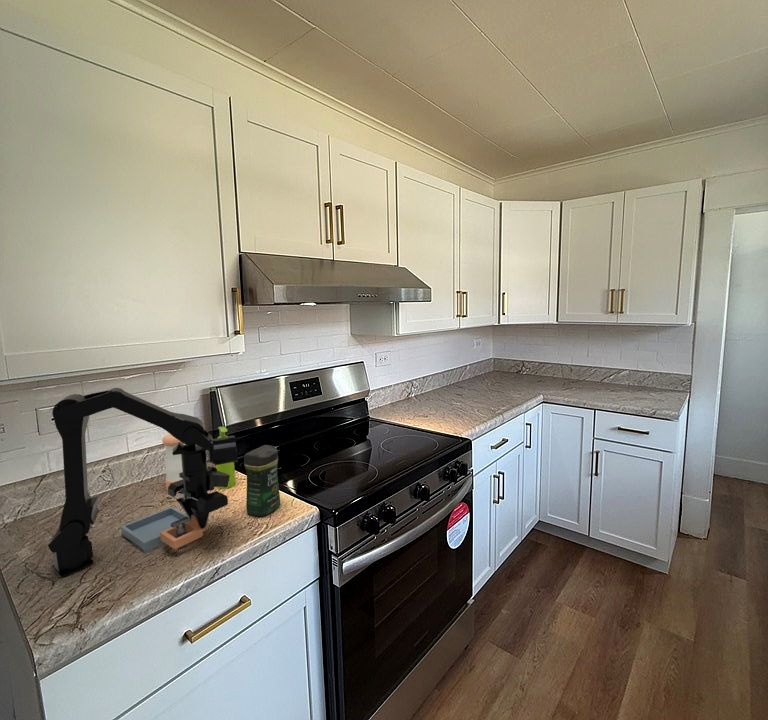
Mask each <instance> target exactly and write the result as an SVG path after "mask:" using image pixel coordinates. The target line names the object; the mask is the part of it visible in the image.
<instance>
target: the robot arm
mask: <svg viewBox="0 0 768 720" xmlns="http://www.w3.org/2000/svg"><path fill="white" fill-rule="evenodd" d="M109 409H116V410H119V411H121V412H124V413H126V414H129V415H130V416H132V417H135V418H137V419H140V420H143V421H145V422H147V423H149V424H152V425H154V426H156V427H159V428H161V429H163V430H164V431H166V432H167V433H168V434H171V435H172V436H173V437H175V438H176V439H178V440H179V441H181V442H182V443H184V445H183V444H181V443H180V442H179V443H178V444H177V446H176V447H175V448H174V449H173V452H172V454H173V455H178V454H181V459H182V471H183V472H182V473H179V476H180V478H183V479H182V480H179V481H177V482H174V483H171V484H170V485H169V487H168V491H167V495H168V496H170V497H172V498H175V497H176V496H177V494H178V495H179V497H178V498H177V499H176V502H177V503H178V504H179V505H180V507H181V508H182V509H183V511H184V512H185V514H187V515H188V517H189V518H190V520H191V515H193V514H194V516H195V518H196V520H197V522H198V524H199V526H200V528H202V529H203V528H205V527H206V523H207V524H208V519H209V516H210V513H212V512H214V511H216V510H217V511H218V510H220V509H221V508H222V509H223V508H224V507H226V506H228V505H229V499H228V498H229V497H228V496H227V495H226V494H224V493H221V492H219V491H217V490H216V491H214V490H215V488H217V487H227V486H228V482H229V478H230V475H229V474H226V473H224V472H220V471H217V468H215V465H220V464H226V463H232V462H234V463H238V459H239V457H238V456H239V455H238V454H239V453H238V448H237V444H236V437H235V435H227V436H228V437H224V438H218V437H216V438H213V436H212V435H211V434H210V433H209V432H208V431H207V430H206V429H205V425H204V422H203V421H202V420H201V419H200V418H199V417H196V416H192V415H188V414H184V413H179V412H173V411H170V410H167V409H166V408H164V407H160V406H158V405H156V404H154V403H152V402H150V401H147V400H145V399H142V398H141V397H138V396H136V395H134V394H132V393H129V392H127V391H125V390H124V389H123V388H119V387H113V388H109V389H108V390H103V391H98V392H94V393H93V392H91V393H90V394H89V393H88V394H85V395H82V394H79V393H78V394H77V393H73V394H69V395H67V396H66V397H64V398H63V399H60V400H59V402H57V403H56V404H55V405H54V406H53V408H52V418H53V420H54V425H55V428H56V431H57V432H58V434H59V436H60V437H61V440H62V443H61V444H62V457H63V459H62V460H63V475H64V476H63V477H64V490H65V491H64V493H65V500H64V505H63V508H62V512H61V515H60V521H59V522H60V523H59V526H58V528H57V530H56V531H55V533H54V535H53V536H52V538H51V540H50V541H49V543H48V545H47V547H48V548H49V550H50V552H51V553H52V559H53V564H52V565H51V569H52V570H53V571H54V572H55V573H56V574H57V576H59V578H65V577H66V576H68V575H70V574H74V573H75V572H78V571H81V570H82V569H85V568H87V567H89V566H92V565H94V563H95V561H94V560H93V558H94V551H93V543H92V541H91V540H90V539H89V536H87V534H89V532H90V529H91V528H92V526H93V525H94V523H95V522H96V520H97V517H98V515H99V513H100V509H99V508H98V500H99V496H94V497H92V496H91V494H90V492H89V487H88V486H89V485H88V484H89V483H88V470H87V469H88V467H87V465H88V464H87V445H86V431H87V428H88V424H89V419H90V416H93V415H94V414H98V413H101V412H103V411H107V410H109ZM207 451H208V457H209V462H210V463H211V462H212V464H214V466H213V465H211V466H208V460H207ZM178 491H179V492H178ZM210 491H213V492H210ZM208 492H209V493H208Z"/></svg>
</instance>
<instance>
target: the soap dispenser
mask: <svg viewBox="0 0 768 720" xmlns="http://www.w3.org/2000/svg"><path fill="white" fill-rule="evenodd" d="M218 430H219V436H218V437H217V438H224V437H228V436H229V435H226V433H228V432H229V431H228V428H227V427H226V426H218ZM214 467H215V468H217V471H220V472H224V473H226V474H229V475H230V478H229V482H228V486H227V487H218V488H217V489H219V488H221V489H220V490H224V489H223V488H228V489H230V487H231V488H233V487H235V486H234V485H236V472H235V462H232V463H226V464H220V465H215V464H214Z"/></svg>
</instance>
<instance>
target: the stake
mask: <svg viewBox="0 0 768 720" xmlns="http://www.w3.org/2000/svg"><path fill="white" fill-rule="evenodd" d="M188 521H189V518H188V517H185V518H182V519H180V520H178V521H175V522H173V523H171V527H173V528H174V527H176V533H177V538H178V537H180V536H182V535H185V534H186V532H185V523H186V522H188ZM187 545H188V543H187V544H185V545H183V546H181V547H179V548H178V549H185V548H186V547H187Z"/></svg>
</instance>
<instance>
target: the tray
mask: <svg viewBox="0 0 768 720" xmlns="http://www.w3.org/2000/svg"><path fill="white" fill-rule="evenodd" d="M185 517H188V515H187V514H186V512H185V513H184V512H183V511H181V510H179V509H177V508H176V507H174V506H170V507H168V508H165V509H162V510H160V511H156V512H155V513H152V514H150V515H147V516H144V517H142V518H139V519H137V520H134V521H132V522H129V523H126V524H123V525H121V526H120V529H121V530H120V532H121V536H122V537H123V538H124V539H126V540H127V541H129V542H130V543H131V544H133V545H134V546H135V547H136V548H138V549H140V550H141V551H142V552H144V553H148V552H150V551H152V550H154V549H156V548H158V547H161V546H163V545H165V544H166V543H164V542H163V541H161V538H160V532H162V531H164V530H167V529H169V528H171V523H173V522H175V521H178V520H180V519H182V518H185ZM188 518H189V517H188ZM189 522H191V520H190V518H189ZM191 523H192V522H191ZM185 532H186V534H187V533H189V532H188V531H185ZM173 537H175V538H177V535H176V536H173Z"/></svg>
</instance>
